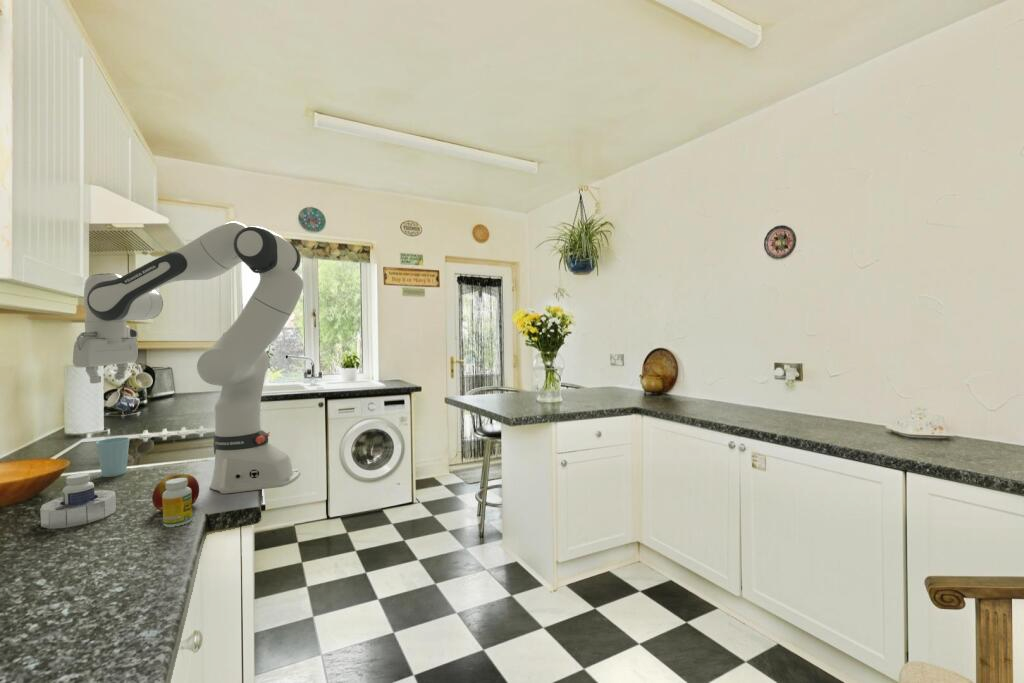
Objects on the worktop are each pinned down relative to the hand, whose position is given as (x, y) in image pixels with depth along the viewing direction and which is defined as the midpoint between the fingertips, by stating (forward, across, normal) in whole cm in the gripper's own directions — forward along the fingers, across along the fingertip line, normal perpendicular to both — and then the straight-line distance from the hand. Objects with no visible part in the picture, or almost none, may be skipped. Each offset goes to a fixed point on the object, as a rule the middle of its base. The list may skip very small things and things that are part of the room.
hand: (108, 381), depth 130 cm
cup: (+30, +10, +6) cm, 32 cm away
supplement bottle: (+29, -33, -34) cm, 56 cm away
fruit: (+29, -24, -29) cm, 48 cm away
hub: (+29, -25, -9) cm, 39 cm away
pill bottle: (+29, -25, -9) cm, 39 cm away
